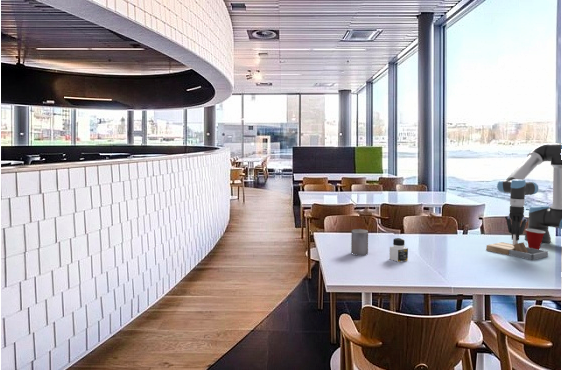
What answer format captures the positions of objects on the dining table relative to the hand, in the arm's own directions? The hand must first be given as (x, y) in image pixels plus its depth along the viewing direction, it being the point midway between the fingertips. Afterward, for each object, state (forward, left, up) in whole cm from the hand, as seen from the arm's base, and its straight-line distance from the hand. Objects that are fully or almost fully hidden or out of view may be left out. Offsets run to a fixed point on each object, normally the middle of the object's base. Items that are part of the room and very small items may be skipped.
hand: (515, 245), depth 266 cm
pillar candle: (+80, -46, -5) cm, 92 cm away
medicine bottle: (+71, -24, -5) cm, 75 cm away
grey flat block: (0, +8, -4) cm, 9 cm away
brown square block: (0, +2, -2) cm, 3 cm away
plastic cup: (-19, +1, -5) cm, 20 cm away
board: (0, -6, -4) cm, 7 cm away
